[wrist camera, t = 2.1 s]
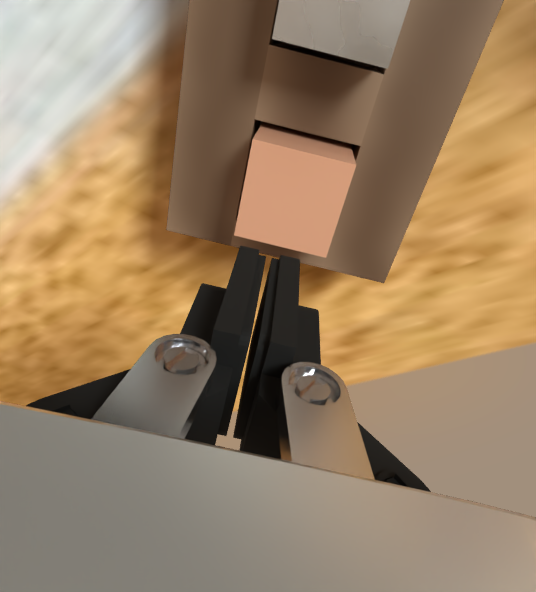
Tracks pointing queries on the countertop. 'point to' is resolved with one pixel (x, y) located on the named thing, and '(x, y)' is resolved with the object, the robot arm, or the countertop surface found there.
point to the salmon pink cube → (294, 189)
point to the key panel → (320, 119)
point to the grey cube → (343, 27)
